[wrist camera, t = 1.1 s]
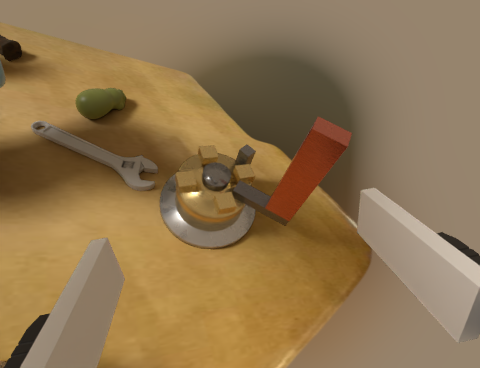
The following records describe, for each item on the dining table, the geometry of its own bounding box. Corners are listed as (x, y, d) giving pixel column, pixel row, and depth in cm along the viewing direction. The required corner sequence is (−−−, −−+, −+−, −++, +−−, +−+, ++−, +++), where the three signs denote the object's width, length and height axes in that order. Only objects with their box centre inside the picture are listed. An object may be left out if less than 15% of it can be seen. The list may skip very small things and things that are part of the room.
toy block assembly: (160, 208, 44) (160, 84, 26) (198, 164, 52) (218, 43, 33) (261, 266, 43) (338, 177, 24) (286, 211, 50) (358, 111, 32)
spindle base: (148, 177, 49) (146, 141, 42) (232, 161, 56) (242, 127, 49) (177, 263, 41) (180, 237, 34) (269, 231, 48) (289, 203, 41)
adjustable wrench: (29, 133, 49) (26, 125, 48) (59, 115, 53) (56, 108, 52) (144, 196, 47) (144, 190, 46) (166, 173, 51) (166, 167, 50)
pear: (67, 88, 50) (113, 78, 57) (70, 112, 53) (113, 100, 60) (88, 103, 49) (132, 91, 56) (90, 127, 52) (131, 113, 59)
